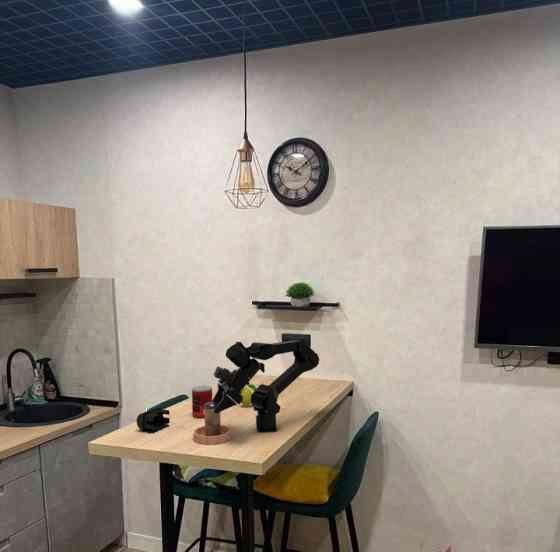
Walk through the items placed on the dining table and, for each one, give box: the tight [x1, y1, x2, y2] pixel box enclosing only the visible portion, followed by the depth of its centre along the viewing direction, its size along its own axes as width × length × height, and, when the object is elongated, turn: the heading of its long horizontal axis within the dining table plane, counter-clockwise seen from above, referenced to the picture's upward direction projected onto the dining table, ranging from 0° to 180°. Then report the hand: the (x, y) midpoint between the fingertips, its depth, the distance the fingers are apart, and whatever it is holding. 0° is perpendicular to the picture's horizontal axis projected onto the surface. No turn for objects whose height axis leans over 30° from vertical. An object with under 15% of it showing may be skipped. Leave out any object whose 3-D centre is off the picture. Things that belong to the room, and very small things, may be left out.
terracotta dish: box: [192, 424, 233, 446], centre depth 160 cm, size 13×13×2 cm
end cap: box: [135, 406, 171, 434], centre depth 171 cm, size 10×7×7 cm
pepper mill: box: [204, 402, 222, 436], centre depth 160 cm, size 5×5×11 cm
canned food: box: [191, 384, 213, 419], centre depth 186 cm, size 8×8×11 cm
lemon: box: [240, 383, 258, 407], centre depth 199 cm, size 7×6×10 cm
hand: (212, 408), depth 160 cm, fingers open, 9 cm apart
